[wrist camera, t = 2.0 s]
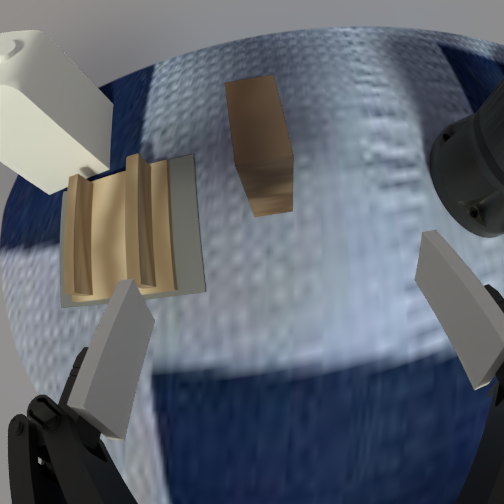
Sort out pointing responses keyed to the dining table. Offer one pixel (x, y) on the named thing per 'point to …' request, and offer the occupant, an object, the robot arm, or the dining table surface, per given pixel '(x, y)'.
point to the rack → (120, 232)
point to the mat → (183, 235)
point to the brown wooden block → (261, 144)
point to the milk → (50, 113)
